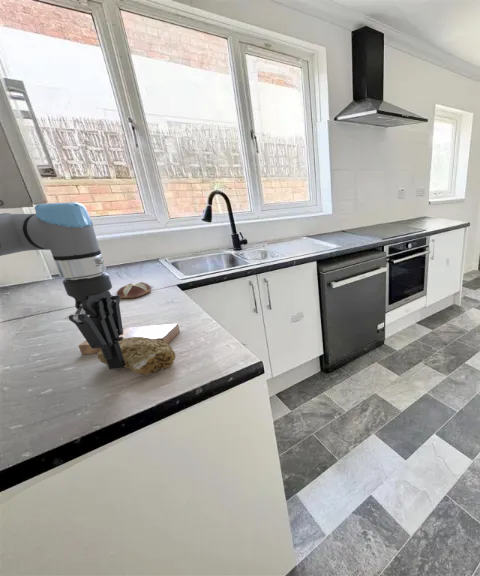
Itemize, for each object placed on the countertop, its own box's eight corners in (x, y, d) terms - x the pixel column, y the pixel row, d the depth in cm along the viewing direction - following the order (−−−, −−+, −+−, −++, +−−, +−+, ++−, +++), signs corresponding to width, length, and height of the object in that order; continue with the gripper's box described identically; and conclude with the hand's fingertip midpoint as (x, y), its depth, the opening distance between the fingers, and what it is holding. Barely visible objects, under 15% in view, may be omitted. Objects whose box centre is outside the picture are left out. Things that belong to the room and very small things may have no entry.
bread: (156, 290, 141) (153, 279, 139) (137, 299, 130) (133, 288, 129) (133, 290, 141) (129, 279, 140) (111, 299, 131) (107, 288, 129)
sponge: (185, 365, 85) (150, 334, 94) (175, 345, 80) (140, 314, 89) (130, 398, 76) (98, 360, 85) (116, 378, 71) (84, 340, 80)
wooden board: (81, 354, 89) (78, 345, 88) (105, 338, 98) (102, 329, 97) (165, 347, 92) (162, 338, 91) (180, 331, 102) (177, 323, 101)
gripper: (82, 283, 62) (117, 381, 70) (122, 266, 74) (149, 351, 82) (39, 285, 61) (80, 385, 69) (87, 268, 73) (117, 354, 81)
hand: (117, 367), depth 76 cm, fingers closed
